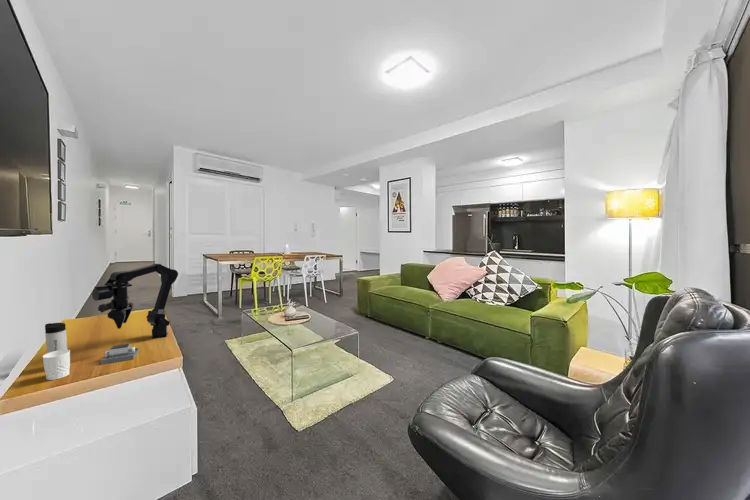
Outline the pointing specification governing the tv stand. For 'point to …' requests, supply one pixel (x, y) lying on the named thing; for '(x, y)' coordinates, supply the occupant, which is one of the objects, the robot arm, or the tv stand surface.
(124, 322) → the robot arm
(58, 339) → the travel mug
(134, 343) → the tv stand surface
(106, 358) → the tray
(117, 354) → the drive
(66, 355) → the white cup
